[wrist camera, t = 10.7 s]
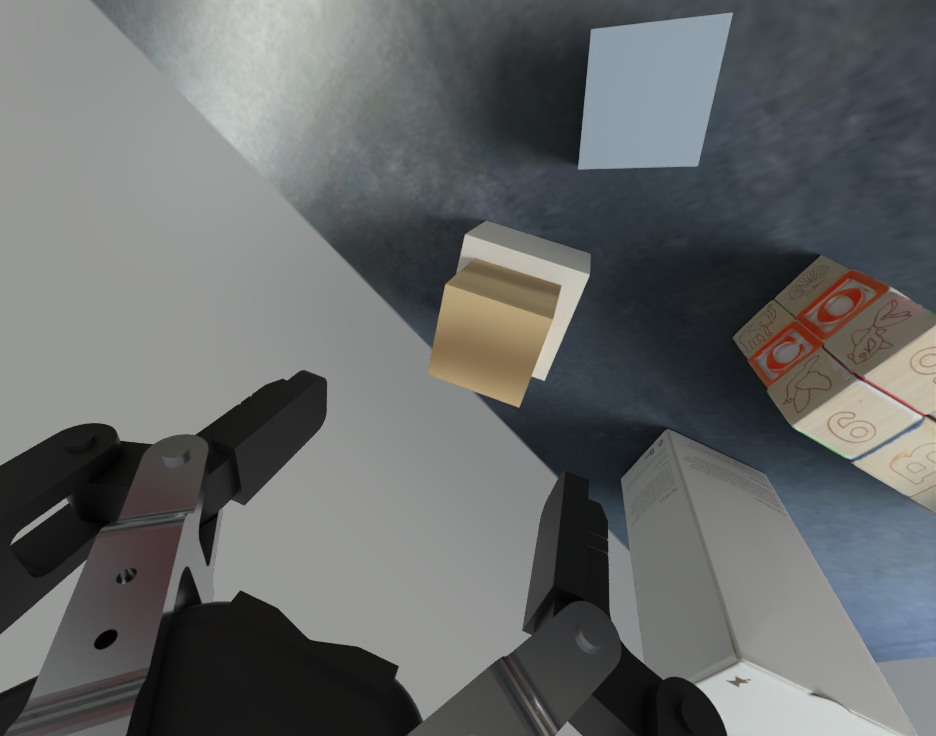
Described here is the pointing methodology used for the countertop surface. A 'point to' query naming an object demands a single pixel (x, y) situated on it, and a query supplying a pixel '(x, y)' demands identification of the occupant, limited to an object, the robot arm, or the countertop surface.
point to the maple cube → (492, 330)
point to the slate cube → (651, 92)
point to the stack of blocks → (853, 372)
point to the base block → (533, 273)
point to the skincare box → (744, 601)
